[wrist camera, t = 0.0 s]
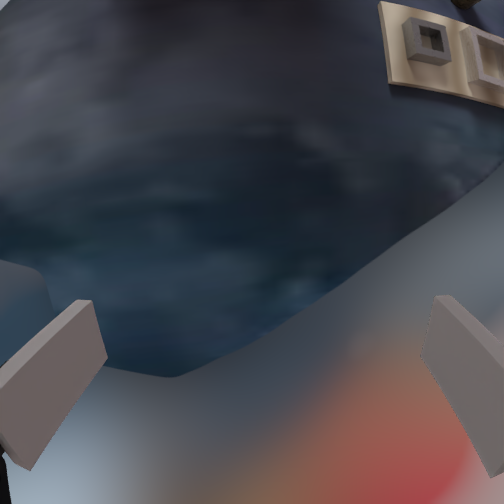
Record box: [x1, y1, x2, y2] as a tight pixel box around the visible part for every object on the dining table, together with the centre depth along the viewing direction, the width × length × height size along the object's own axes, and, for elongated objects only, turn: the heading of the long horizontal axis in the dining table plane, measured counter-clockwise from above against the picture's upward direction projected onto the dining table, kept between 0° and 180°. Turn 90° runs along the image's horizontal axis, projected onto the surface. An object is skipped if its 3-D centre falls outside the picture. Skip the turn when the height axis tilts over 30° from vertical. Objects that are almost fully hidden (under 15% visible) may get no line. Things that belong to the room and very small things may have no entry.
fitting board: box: [377, 1, 504, 109], centre depth 27 cm, size 22×12×4 cm, turn 92°
